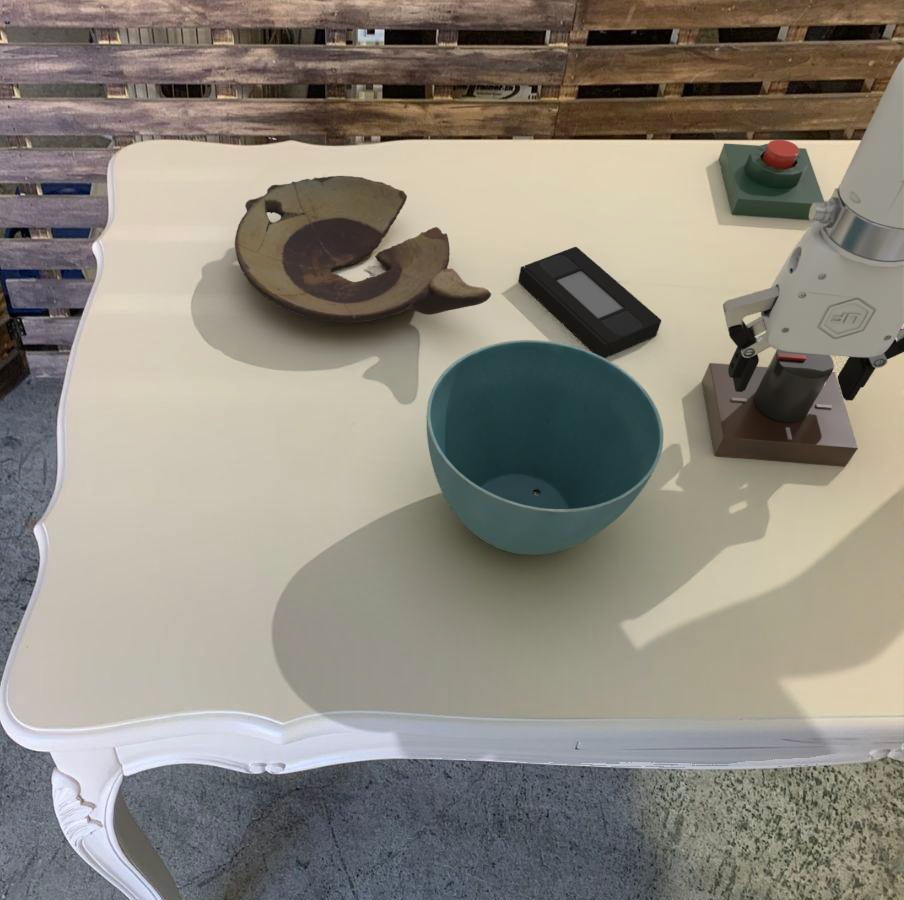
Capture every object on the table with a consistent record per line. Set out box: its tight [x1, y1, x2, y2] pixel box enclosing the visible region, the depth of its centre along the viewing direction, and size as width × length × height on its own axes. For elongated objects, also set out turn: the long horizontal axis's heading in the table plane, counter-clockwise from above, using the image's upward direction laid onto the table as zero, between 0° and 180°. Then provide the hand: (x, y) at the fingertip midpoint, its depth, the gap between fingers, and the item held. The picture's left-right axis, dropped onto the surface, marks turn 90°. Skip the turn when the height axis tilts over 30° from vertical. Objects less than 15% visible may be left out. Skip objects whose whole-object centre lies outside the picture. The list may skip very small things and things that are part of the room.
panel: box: [701, 362, 859, 467], centre depth 85 cm, size 12×10×3 cm
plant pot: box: [426, 339, 664, 556], centre depth 74 cm, size 18×18×12 cm
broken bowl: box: [234, 175, 492, 323], centre depth 94 cm, size 22×30×8 cm
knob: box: [754, 349, 835, 422], centre depth 82 cm, size 5×5×6 cm
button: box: [762, 139, 800, 169], centre depth 106 cm, size 4×4×2 cm
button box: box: [718, 142, 825, 221], centre depth 108 cm, size 10×12×4 cm
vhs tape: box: [517, 246, 662, 359], centre depth 95 cm, size 8×14×2 cm, turn 30°
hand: (790, 385), depth 82 cm, fingers open, 9 cm apart
